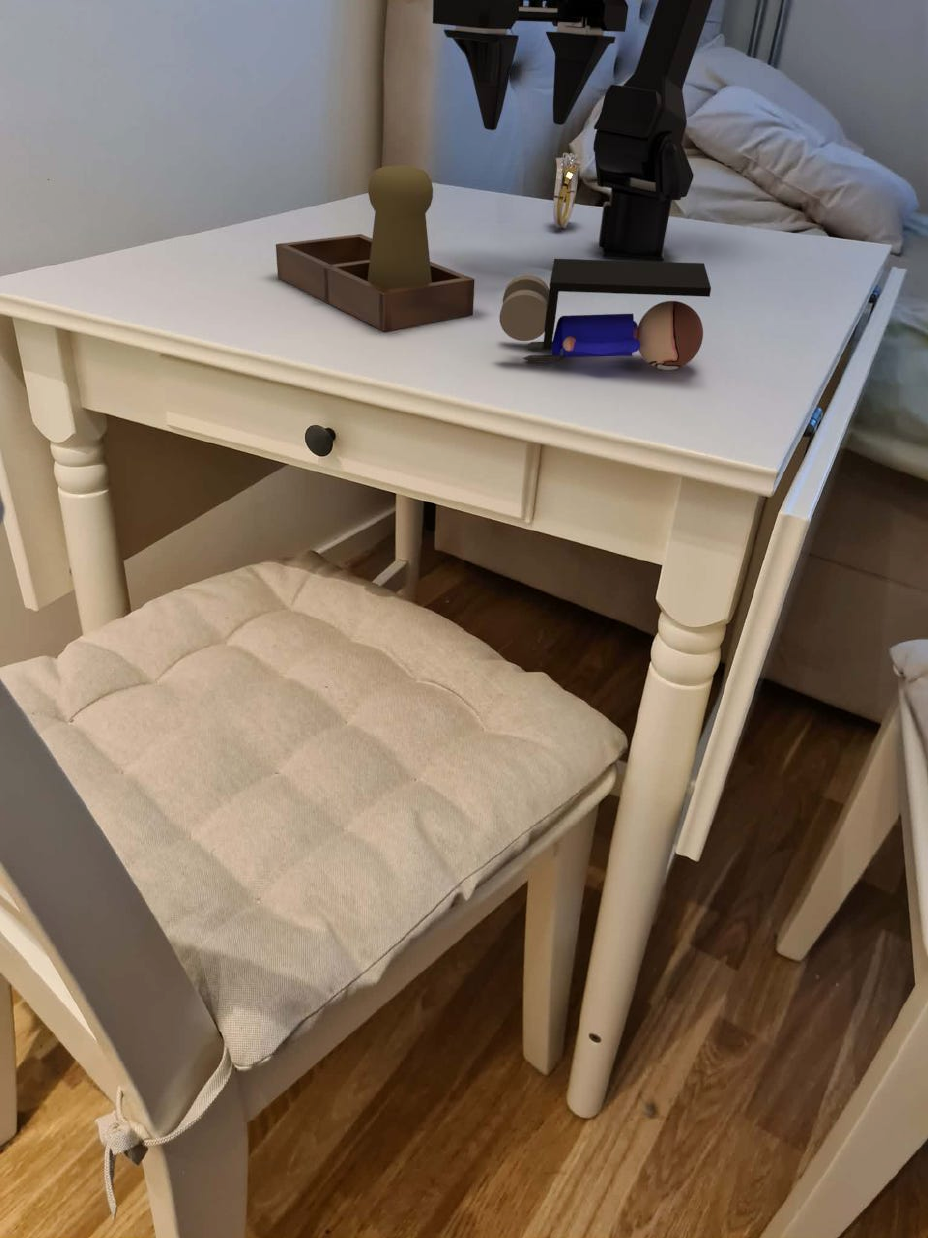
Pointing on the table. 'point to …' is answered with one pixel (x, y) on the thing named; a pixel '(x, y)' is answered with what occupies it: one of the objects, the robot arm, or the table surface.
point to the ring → (565, 188)
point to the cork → (400, 227)
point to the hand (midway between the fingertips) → (525, 126)
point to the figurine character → (659, 337)
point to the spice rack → (343, 283)
